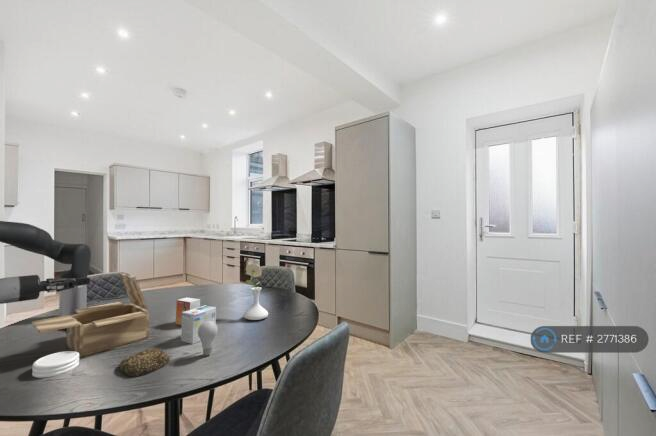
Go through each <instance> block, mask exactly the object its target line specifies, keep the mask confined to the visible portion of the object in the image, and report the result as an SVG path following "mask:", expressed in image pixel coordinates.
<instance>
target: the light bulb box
mask: <svg viewBox="0 0 656 436" xmlns="http://www.w3.org/2000/svg"><path fill="white" fill-rule="evenodd" d="M216 320H217V307H216V306H210V305H206V304H205V305H200V307H198V308H194V309H191V310H188V311H185V312H182V325H181V336H180V339H181V340H180V341H181V342H184V343H188V344H191V345H193V344H196V343H198V342H199V343H200V342H201V339H200V338H199V336H198V328H199V326H200V325H201V324H202V323H204V322H206V321H212V322H214V323H215V324H216V323H217V321H216ZM216 325H217V324H216Z"/></svg>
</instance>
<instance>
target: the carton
mask: <svg viewBox="0 0 656 436" xmlns="http://www.w3.org/2000/svg"><path fill="white" fill-rule="evenodd" d="M75 312H76V313H78V314H75V315H70V316H69V315H64V316H59V315H58V316H54V317H49V318H43V319H38V320H33V321H31V325H32V326H33V328H35V329H36V331H38V333H39V334H44V333H49V332H50V333H51V332H53V331H59V330H65V329H64V328H67V330H66V343H65V345H66V346H67V347H68V348H69V349H70V351H75V352H78V353H79V359H80V358H82V357H86V356H89V355H90V356H91V355H94V354H97V353H100V352H104V351H108V350H112V349H115V348H119V347H122V346H126V345H129V344H133V343H136V342H139V341H143V340H148V339H149V332H150V329H149V327H150V322H149V321H150V311H149V310H147V309H144V308H142V307H140V306H137V305H135V304H133V303H129V304H124V303H123V302H121V301H118V302H111V303H106V304H100V305H94V306H89V307H87V306H86V308H81V309H76V310H75Z"/></svg>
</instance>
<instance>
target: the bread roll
mask: <svg viewBox="0 0 656 436" xmlns="http://www.w3.org/2000/svg"><path fill="white" fill-rule="evenodd" d="M170 358H171V357H170V356H169V355H168V353H166V352H165V351H163V350H161V349H158V348H156V349H155V348H154V349H151V348H146V349H145V350H142V351H139V352H136V353H134V354H131V355H128V356H127V355H126V356H125V357H124V358H123V359H122V360H121V362H120V363H119V365H118V366H119V370H120V371H121V372H122V373H123V374H125V375H127V376H128V377H141V376H144V375H147V374H150V373H152V372H155V371H158V370H159V369H162V368H163V367H165V366H167V365H169V363H170V361H171V359H170Z"/></svg>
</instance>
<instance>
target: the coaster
mask: <svg viewBox="0 0 656 436" xmlns="http://www.w3.org/2000/svg"><path fill="white" fill-rule="evenodd" d="M79 364H80V358H79V353H78V352H75V351H72V350H66V351H58V352H55V353H51V354H47V355H44V356H42V357H40V358H38V359H37V360H35V361H34V362H33V363H32V369H31V370H32V373H31V376H32V377H33V378H38V379H40V378H41V379H45V378H46V379H47V378H51V377H56V376H59V375H60V376H61V375H63V374H66V373H69V372H70V371H73V370H74V369H76V368H77V367H78V366H79Z"/></svg>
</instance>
